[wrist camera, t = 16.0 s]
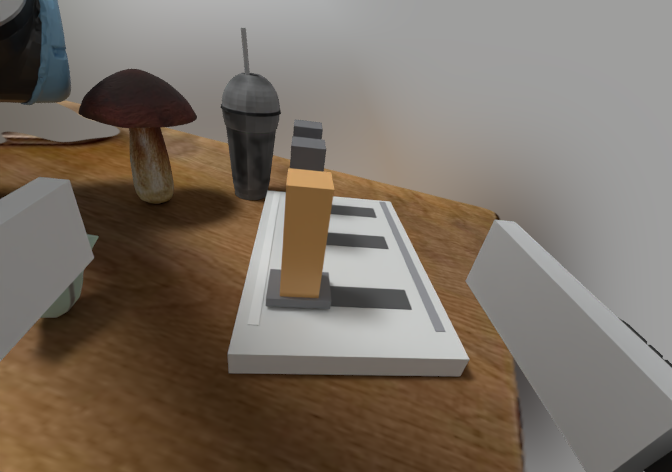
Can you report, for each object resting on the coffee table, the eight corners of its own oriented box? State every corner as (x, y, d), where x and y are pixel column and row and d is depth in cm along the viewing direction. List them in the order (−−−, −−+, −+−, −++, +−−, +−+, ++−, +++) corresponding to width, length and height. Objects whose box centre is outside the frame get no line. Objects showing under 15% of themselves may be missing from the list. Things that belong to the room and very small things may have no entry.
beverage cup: (287, 194, 47) (297, 36, 37) (250, 210, 42) (250, 29, 32) (252, 179, 50) (252, 28, 40) (213, 191, 45) (202, 21, 35)
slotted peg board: (228, 373, 22) (219, 219, 16) (267, 203, 44) (269, 111, 38) (460, 376, 24) (532, 243, 18) (387, 214, 46) (408, 128, 40)
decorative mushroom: (219, 208, 41) (212, 79, 34) (124, 233, 34) (86, 77, 26) (179, 178, 47) (165, 63, 39) (90, 195, 40) (50, 57, 32)
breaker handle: (265, 306, 25) (269, 185, 20) (270, 276, 28) (274, 165, 23) (330, 308, 25) (350, 193, 20) (327, 279, 28) (344, 172, 23)
